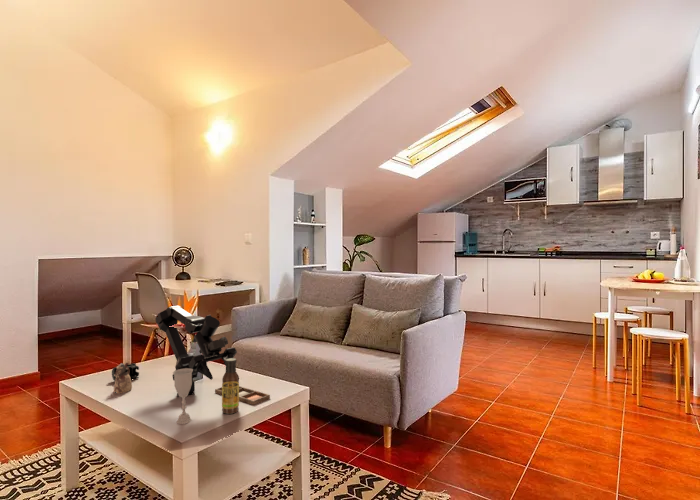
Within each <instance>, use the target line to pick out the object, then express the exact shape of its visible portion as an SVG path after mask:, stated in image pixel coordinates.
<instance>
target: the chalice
mask: <svg viewBox="0 0 700 500" xmlns="http://www.w3.org/2000/svg"><path fill="white" fill-rule="evenodd" d="M175 370H176V369H175ZM175 370H174V371H173V372H172V375H173V374H174V380H173V383H174V387H175V390H176V394H177V393H178V395H179V396H178V397H179V398H181V402H180V403H181V405H182V406H181V410H182V413H180V414H179V416H178V418H177V421H176V424H177V425H186V424H189V423H191V422H192V418H191V416H190V414H189V413H187V412H186V409H187V406H186V403H187V402H186V397H188V396H189V395H188V393H189V391H190V388H191V385H192V371H193V369H189V368H185V369H179V370H176V371H175Z"/></svg>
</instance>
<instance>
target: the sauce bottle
mask: <svg viewBox="0 0 700 500" xmlns="http://www.w3.org/2000/svg"><path fill="white" fill-rule="evenodd" d="M225 364H226V366H225V373H224V374H223V376H222V384H221V387H222V395H221V408H222V409H221V412H222V413H223V414H227V415H231V414H235V413H238V412H239V409H240V408H239V406H240V401H239V386H240V380H239V379H240V376H239V374H238V373H237V358H234V357H233V358H229V359H226V360H225ZM225 364H224V365H225Z"/></svg>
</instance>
